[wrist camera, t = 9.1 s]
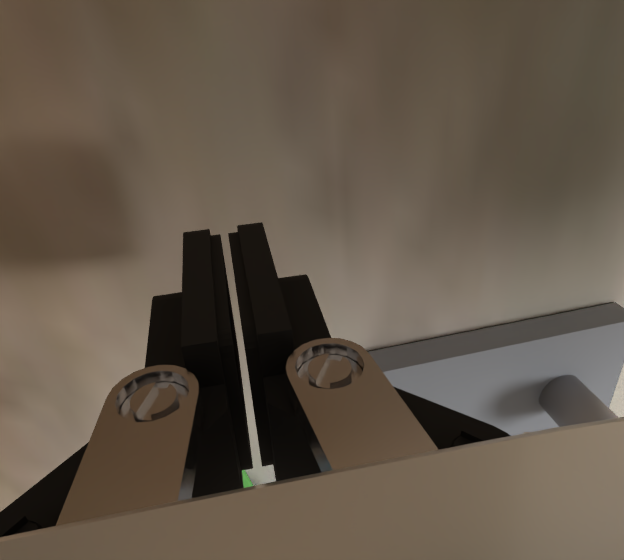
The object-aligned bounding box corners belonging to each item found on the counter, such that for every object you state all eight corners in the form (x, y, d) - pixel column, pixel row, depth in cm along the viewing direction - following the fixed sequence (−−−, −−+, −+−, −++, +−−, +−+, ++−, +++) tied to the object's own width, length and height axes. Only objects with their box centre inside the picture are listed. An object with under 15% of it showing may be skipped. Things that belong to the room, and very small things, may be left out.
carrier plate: (615, 302, 21) (734, 388, 17) (531, 584, 31) (591, 683, 27) (363, 352, 19) (424, 464, 15) (361, 636, 29) (397, 752, 25)
